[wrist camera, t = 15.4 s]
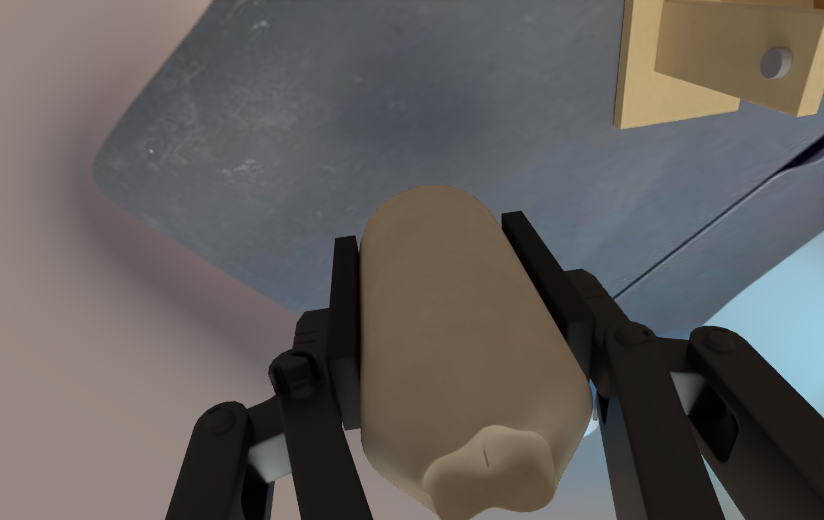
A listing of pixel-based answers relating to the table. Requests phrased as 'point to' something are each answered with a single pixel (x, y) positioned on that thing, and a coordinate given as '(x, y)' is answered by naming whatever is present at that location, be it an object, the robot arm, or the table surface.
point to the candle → (461, 361)
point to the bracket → (718, 58)
